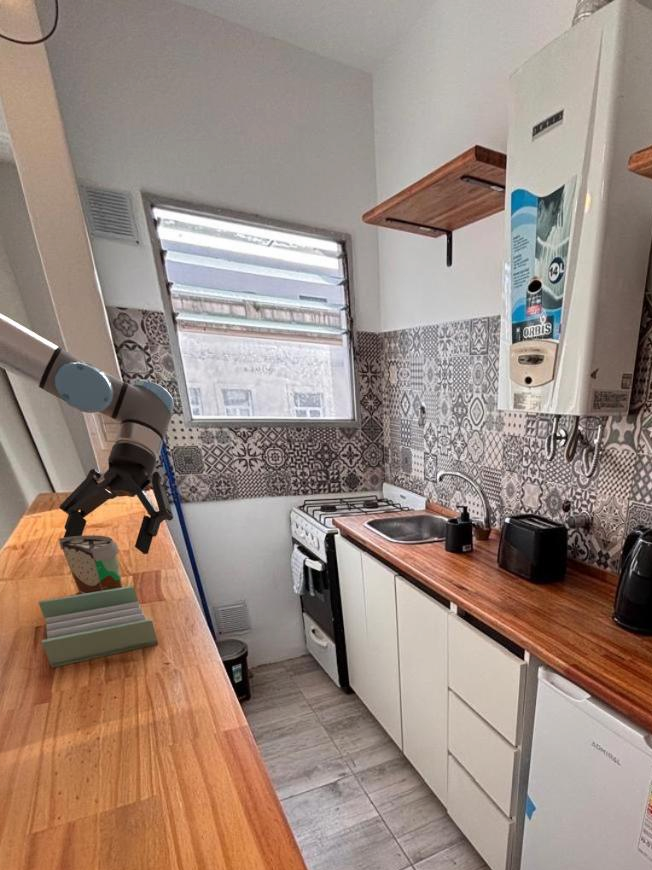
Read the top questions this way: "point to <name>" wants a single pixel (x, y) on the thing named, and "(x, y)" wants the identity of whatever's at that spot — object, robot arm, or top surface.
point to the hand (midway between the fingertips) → (105, 549)
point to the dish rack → (95, 625)
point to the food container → (92, 562)
